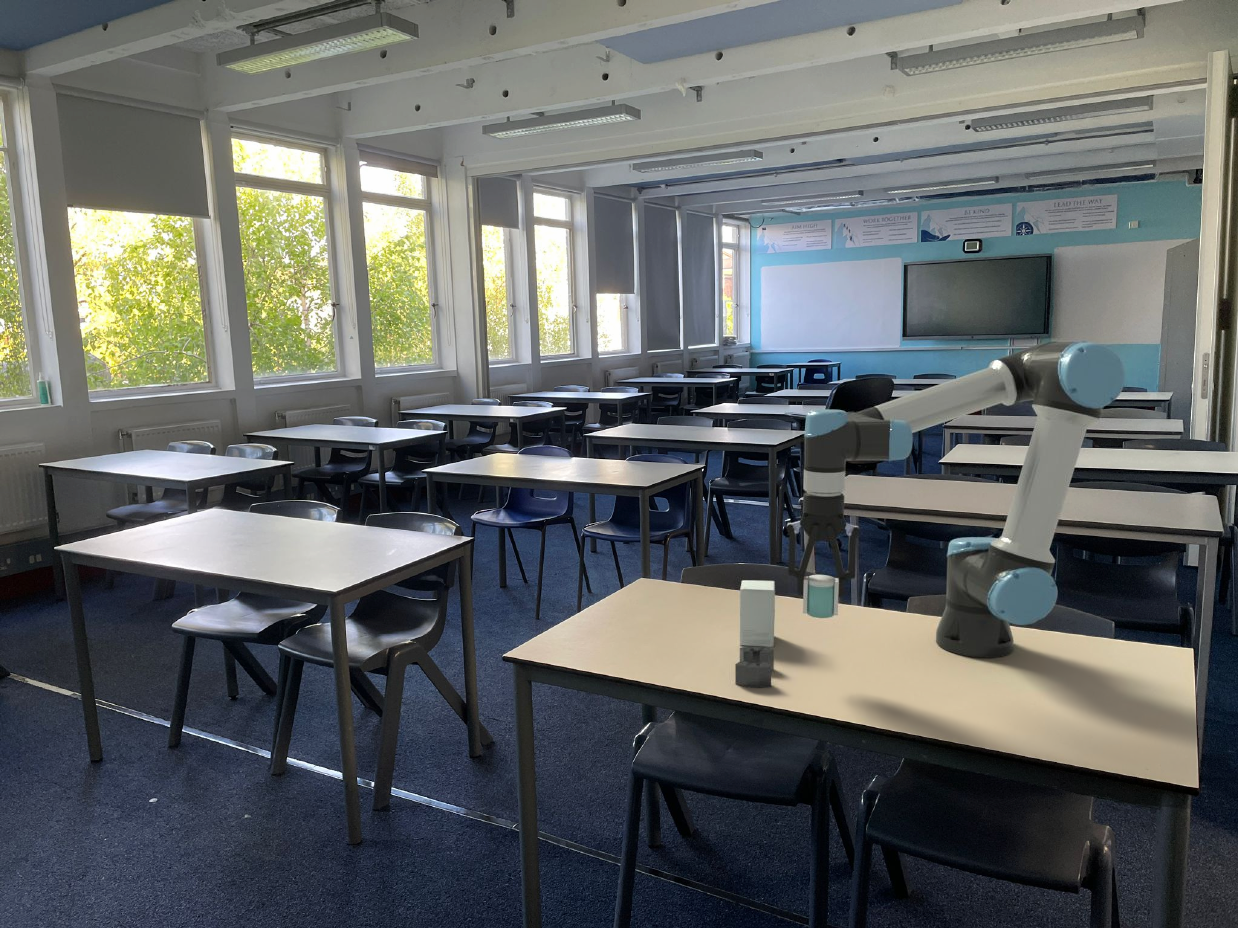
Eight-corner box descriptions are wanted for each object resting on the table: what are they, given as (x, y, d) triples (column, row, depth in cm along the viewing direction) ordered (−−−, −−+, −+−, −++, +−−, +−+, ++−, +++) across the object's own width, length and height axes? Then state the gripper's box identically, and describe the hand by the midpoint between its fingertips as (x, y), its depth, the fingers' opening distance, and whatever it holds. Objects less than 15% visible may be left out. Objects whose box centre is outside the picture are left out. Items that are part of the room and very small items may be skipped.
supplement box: (774, 647, 183) (774, 590, 181) (739, 645, 185) (739, 588, 183) (774, 635, 190) (775, 580, 189) (741, 633, 192) (741, 579, 190)
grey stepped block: (773, 666, 173) (774, 647, 172) (770, 688, 162) (771, 668, 162) (740, 664, 174) (740, 645, 173) (734, 685, 164) (734, 665, 163)
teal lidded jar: (833, 610, 167) (834, 575, 166) (834, 618, 162) (835, 582, 161) (807, 608, 168) (808, 574, 167) (806, 617, 163) (807, 581, 162)
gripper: (872, 490, 163) (868, 609, 166) (775, 487, 167) (773, 603, 170) (875, 497, 156) (870, 621, 159) (774, 494, 160) (771, 615, 163)
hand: (820, 611), depth 165 cm, fingers closed on teal lidded jar, 5 cm apart
